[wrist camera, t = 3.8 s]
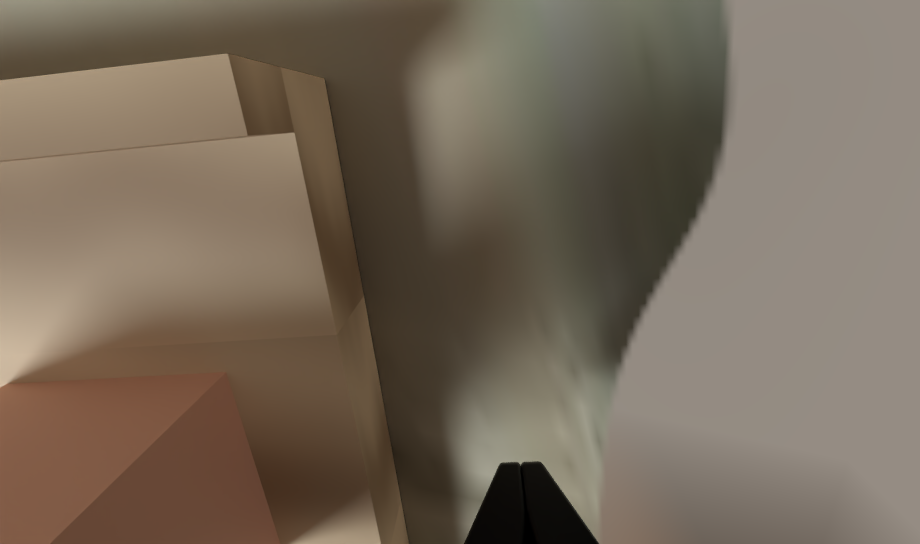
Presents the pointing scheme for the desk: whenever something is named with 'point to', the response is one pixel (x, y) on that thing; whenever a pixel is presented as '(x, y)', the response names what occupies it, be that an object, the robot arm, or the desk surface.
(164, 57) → the desk surface
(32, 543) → the block
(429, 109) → the desk surface
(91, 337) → the board
